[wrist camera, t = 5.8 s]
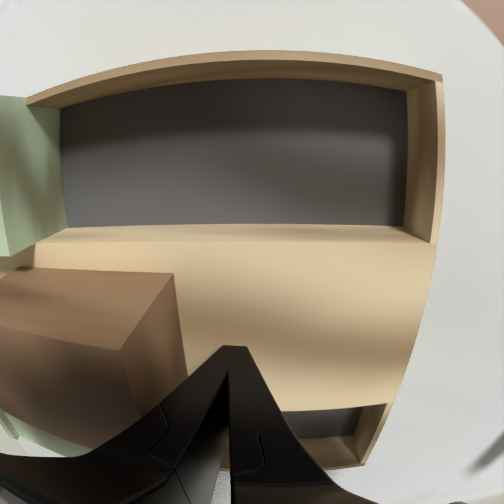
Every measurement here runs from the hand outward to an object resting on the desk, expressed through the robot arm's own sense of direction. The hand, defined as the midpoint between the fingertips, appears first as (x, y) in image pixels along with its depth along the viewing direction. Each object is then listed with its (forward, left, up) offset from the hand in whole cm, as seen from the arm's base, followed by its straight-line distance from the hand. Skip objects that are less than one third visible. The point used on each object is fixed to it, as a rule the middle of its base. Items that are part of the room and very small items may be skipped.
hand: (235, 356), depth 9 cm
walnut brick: (0, +5, -1) cm, 5 cm away
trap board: (0, +5, -3) cm, 6 cm away
